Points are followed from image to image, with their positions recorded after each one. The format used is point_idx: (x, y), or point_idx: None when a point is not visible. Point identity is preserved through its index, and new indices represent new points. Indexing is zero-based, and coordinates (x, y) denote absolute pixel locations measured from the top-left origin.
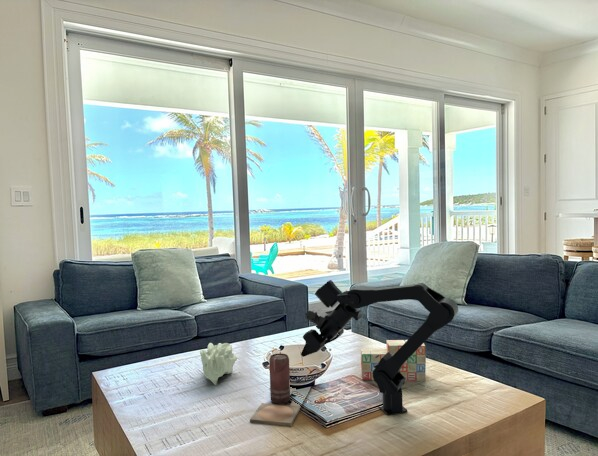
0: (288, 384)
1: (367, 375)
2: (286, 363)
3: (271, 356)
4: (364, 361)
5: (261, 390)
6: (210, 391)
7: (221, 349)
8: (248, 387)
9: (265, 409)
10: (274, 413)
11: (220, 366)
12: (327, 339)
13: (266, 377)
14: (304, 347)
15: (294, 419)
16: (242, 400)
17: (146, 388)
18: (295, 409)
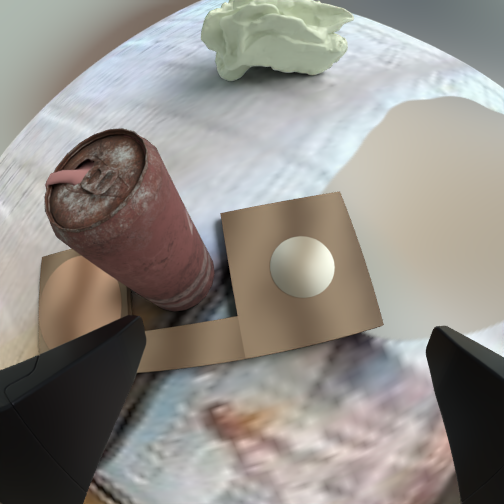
0: (147, 294)
1: None
2: (76, 251)
3: (106, 135)
4: None
5: (237, 180)
6: (190, 91)
7: (246, 6)
8: (245, 139)
9: (87, 268)
10: (71, 306)
11: (237, 46)
12: (484, 487)
13: (341, 149)
14: (38, 362)
15: None
16: None
17: (179, 33)
18: None
